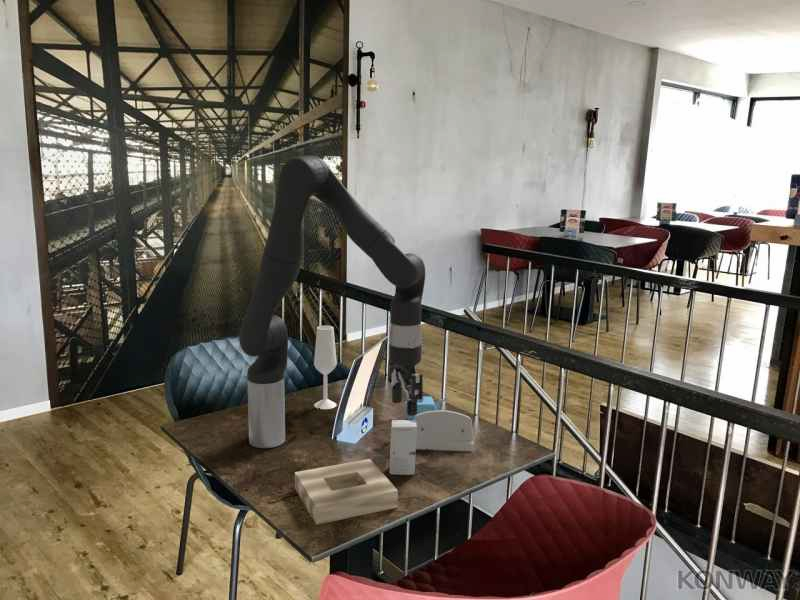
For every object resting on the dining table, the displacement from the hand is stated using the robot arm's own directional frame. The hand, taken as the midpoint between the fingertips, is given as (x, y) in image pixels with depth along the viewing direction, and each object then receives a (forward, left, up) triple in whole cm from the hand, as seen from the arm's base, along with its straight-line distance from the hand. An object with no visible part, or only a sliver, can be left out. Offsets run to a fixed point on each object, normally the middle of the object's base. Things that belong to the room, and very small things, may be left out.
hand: (404, 408), depth 153 cm
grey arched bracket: (-10, +16, -16) cm, 25 cm away
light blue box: (-25, +18, -16) cm, 35 cm away
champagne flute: (-47, -4, -16) cm, 50 cm away
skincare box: (0, 0, -16) cm, 16 cm away
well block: (+7, -17, -16) cm, 24 cm away
